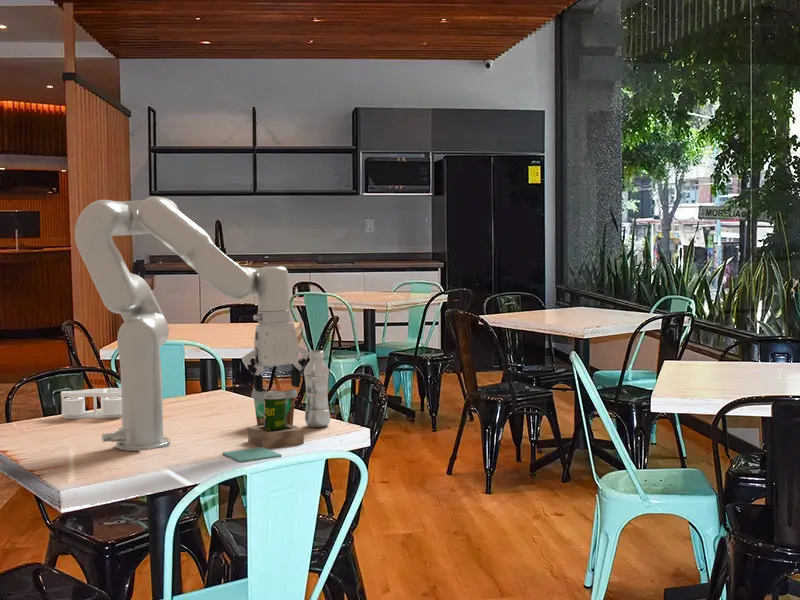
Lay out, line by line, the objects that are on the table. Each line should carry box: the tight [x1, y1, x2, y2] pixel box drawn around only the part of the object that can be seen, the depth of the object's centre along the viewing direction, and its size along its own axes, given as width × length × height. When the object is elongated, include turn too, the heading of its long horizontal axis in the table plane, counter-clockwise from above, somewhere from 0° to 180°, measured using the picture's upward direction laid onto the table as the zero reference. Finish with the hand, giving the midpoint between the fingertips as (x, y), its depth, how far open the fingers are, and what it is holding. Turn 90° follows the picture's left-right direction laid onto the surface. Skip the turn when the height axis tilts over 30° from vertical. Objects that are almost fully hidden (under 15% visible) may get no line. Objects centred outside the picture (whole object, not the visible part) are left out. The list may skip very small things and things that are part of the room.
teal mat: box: [222, 446, 282, 463], centre depth 218 cm, size 10×10×1 cm
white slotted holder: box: [60, 387, 122, 420], centre depth 269 cm, size 20×11×7 cm, turn 89°
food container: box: [250, 387, 298, 426], centre depth 250 cm, size 12×6×10 cm, turn 81°
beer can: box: [264, 392, 287, 432], centre depth 231 cm, size 5×5×12 cm
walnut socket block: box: [247, 423, 305, 449], centre depth 232 cm, size 10×10×4 cm
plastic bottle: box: [303, 349, 331, 428], centre depth 250 cm, size 6×7×20 cm
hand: (277, 388), depth 231 cm, fingers open, 9 cm apart
